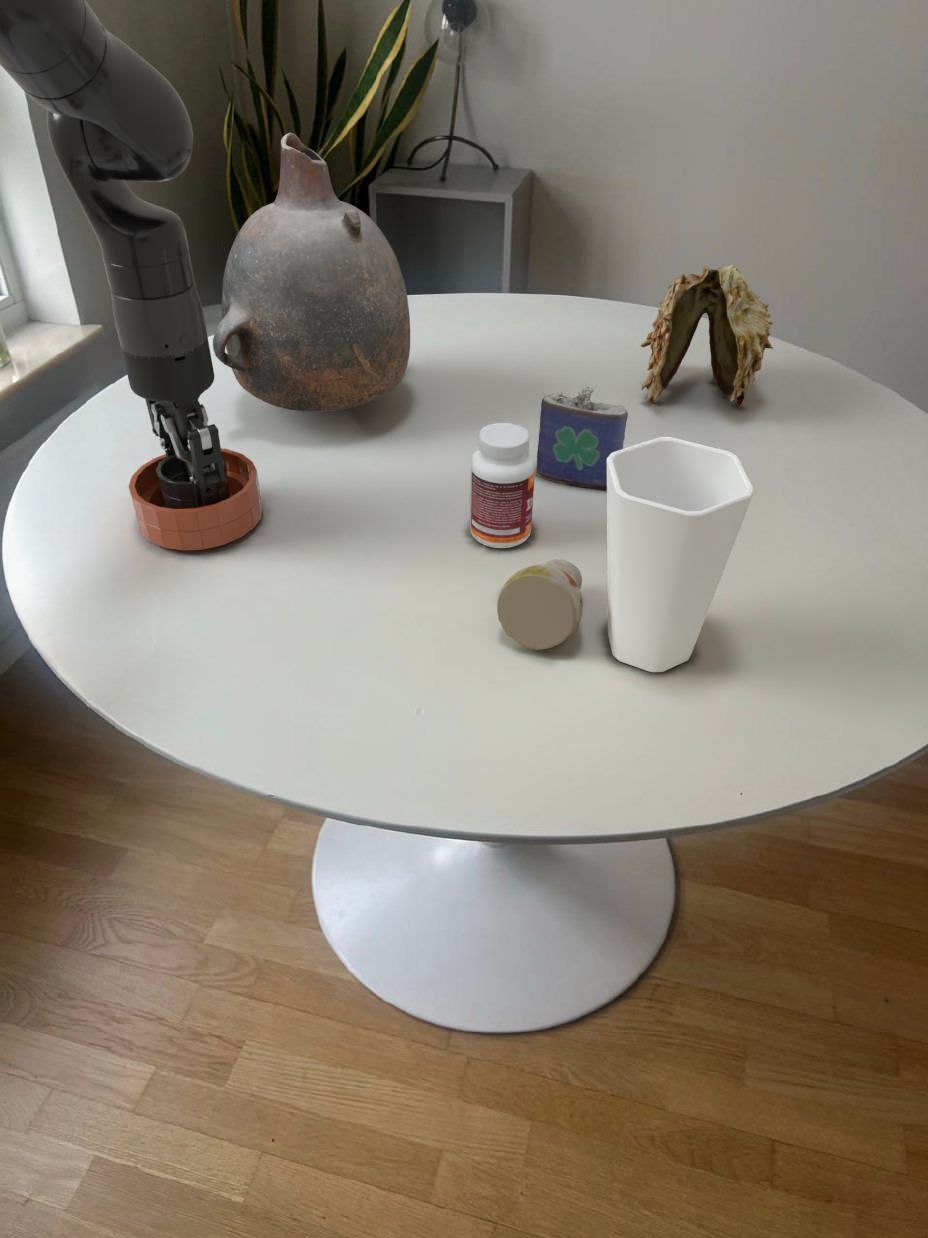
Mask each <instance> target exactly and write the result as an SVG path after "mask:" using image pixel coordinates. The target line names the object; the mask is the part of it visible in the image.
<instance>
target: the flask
mask: <svg viewBox="0 0 928 1238" xmlns="http://www.w3.org/2000/svg"><path fill="white" fill-rule="evenodd" d="M594 392H595V389H594V388H593V387H590V386H589V385H588V386H586V387H585V388H584V387H583V388H582V387H581V388H579V389H578V391H577V394H578V395H575V396H574V397H571V396H570V395H569V394H563V392H562V391H560V392H558V393H547V394H546V395H545V394H544V395H543V398H541V403H540V417H539V431H538V441H537V442H538V443H537V451H536V475H537V476H539V477H540V478H543V479H544V480H547V481H552V482H555V483H559V484H563V485H569V486H575V487H576V486H577V487H580V488H581V487H583V488H589V489H594V490H599V491H601V490H602V491H603V490H604V491H605V490H607V458H608V457H609V455H610V454H611V453H612V452H615V451H618V450H621V449H624V442H625V438H626V437H625V436H626V435H625V434H626V428H627V423H628V417H629V411H628V410H627V408H626V407H625V406H623V405H620V404H610V403H602V402H593V401H592V400H591V396H592V394H593V393H594Z"/></svg>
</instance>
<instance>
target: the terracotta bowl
mask: <svg viewBox="0 0 928 1238" xmlns="http://www.w3.org/2000/svg"><path fill="white" fill-rule="evenodd" d="M189 450H190V447H189ZM221 453H222V458H223V460H224V462H225V467H226V473H227V479H228V484H229V490H230V497H229V498H228V499H226V500H224V501H221V502H219V503H216V504H213V505H208V506H204V507H199V508H190V509H172V508H166V507H165V504H164V501H163V497H162V493H161V488H160V484H159V480H158V476H157V471H156V469H157V467H158V465H159V463H160V462H161V461H163V460H164V459H165V458H167V457H166V453H165V454H162V455H159V456H156V457H154V458H152V459H150V460H149V461H147V462H145V463H144V464H142V465H140V467H139V468H138V469H137V470H136V471H135V472H134V473H133V474H132V476H131V478H130V481H129V484H128V490H129V494H130V498H131V502H132V505H133V510H134V513H135V517H136V521H137V524H138V528H139V531H140V533H141V535H142V536H144V537H145V538H146V539H147V541H149V542H150V543H152V544H154V545H157V546H160V547H161V548H165V549H169V550H178V551H200V550H208V549H214V548H217V547H221V546H223V545H227V544H229V543H231V542H233V541H236V540H239V539H241V538H242V537H244V536H245V535H246V534H248V533H249V532H250V531H252V530H253V529H254V528H255V527H256V526H257V524H258V523H259V521H260V520H261V519H262V515H263V513H262V512H263V501H262V494H261V488H260V483H259V482H260V481H259V475H258V470H257V467H256V466H255V464H254V462H253V460H252V459H250V458H248V457H247V456H246V455H244V454H242V453H240V452H238V451H235V450H232V449H229V448H222V447H221Z"/></svg>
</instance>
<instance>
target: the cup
mask: <svg viewBox="0 0 928 1238" xmlns="http://www.w3.org/2000/svg"><path fill="white" fill-rule="evenodd" d="M754 493H755V489H754V487H753V485H752V483H751V481H750V479H749V477H748V475H747V473H746V470H745V469H744V466H743V464H742V463H741V461H740V458H739V456H737V455H736V454H734V453H733V452H731V451H729V450H725V449H721V448H717V447H712V446H708V445H704V444H701V443H697V442H693V441H689V440H685V439H681V438H676V437H673V436H659V437H656V438H653V439H649V440H646V441H643V442H641V443H637V444H634V445H631V446H627V447H625V448H623V449H621V450H618V451H615V452H612V453H611V454H610V455H609V457H608V458H607V489H606V551H607V553H606V555H607V556H606V559H607V560H606V562H607V563H606V564H607V565H606V567H607V568H606V571H607V572H606V573H607V576H606V577H607V583H606V585H607V586H606V587H607V636H608V641H609V645H610V651H611V654H612V656H613V657H614V658H615V659H616V660H618V661H619V662H621V663H624V664H626V665H629V666H631V667H632V666H633V667H635V668H638V669H640V670H643V671H646V672H648V673H649V672H650V673H664V672H666V671H668V670H670V669H672V668H674V667H676V666H678V665H682V664H683V663H685V662H688V661H689V659H690V658H691V656H692V654H693V651H694V649H695V646H696V643H697V641H698V638H699V636H700V633H701V632H702V631H701V630H702V628H703V625H704V623H705V620H706V619H707V618H706V617H707V615H708V612H709V609H710V608H711V604H712V603H713V600H714V598H715V594H716V591H717V589H718V587H719V584H720V582H721V578H722V576H723V573H724V571H725V569H726V566H727V564H728V561H729V558H730V555H731V552H732V550H733V548H734V545H735V543H736V539H737V537H738V534H739V532H740V529H741V527H742V524H743V522H744V519H745V516H746V514H747V511H748V509H749V506H750V503H751V502H752V501H751V500H752V498H753V495H754Z"/></svg>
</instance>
